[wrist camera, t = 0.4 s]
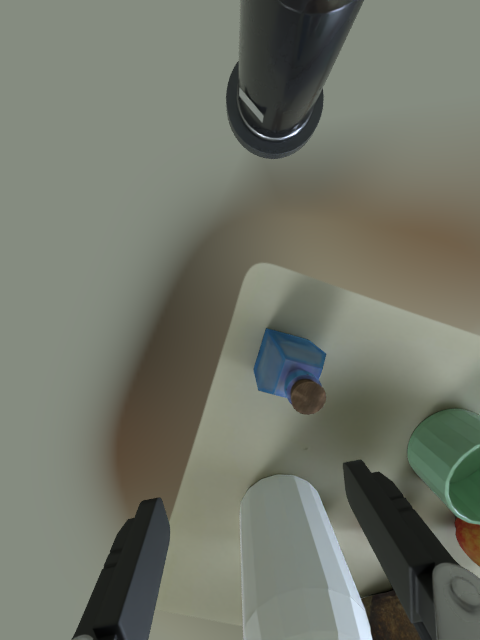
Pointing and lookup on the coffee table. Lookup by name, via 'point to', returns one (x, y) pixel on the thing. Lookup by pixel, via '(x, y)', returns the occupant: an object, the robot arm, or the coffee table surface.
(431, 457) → the green bowl
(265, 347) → the perfume bottle
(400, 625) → the book
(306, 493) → the white dome-topped cylinder
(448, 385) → the coffee table surface
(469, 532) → the fruit
